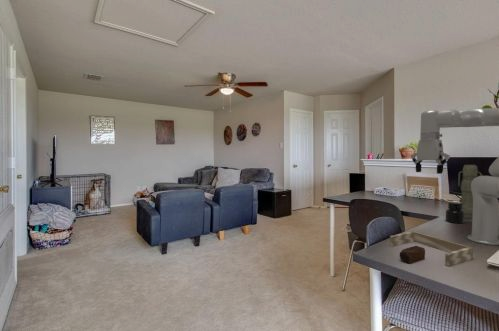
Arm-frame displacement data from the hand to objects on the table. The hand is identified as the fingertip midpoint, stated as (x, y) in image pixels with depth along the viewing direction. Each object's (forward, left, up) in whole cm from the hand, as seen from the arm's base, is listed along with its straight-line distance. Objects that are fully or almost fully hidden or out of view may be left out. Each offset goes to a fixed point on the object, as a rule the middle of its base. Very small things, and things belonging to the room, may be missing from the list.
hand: (428, 172), depth 124 cm
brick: (+28, +12, -34) cm, 46 cm away
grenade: (-73, -17, -34) cm, 82 cm away
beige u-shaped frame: (+14, +9, -33) cm, 37 cm away
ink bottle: (-51, -14, -34) cm, 63 cm away
